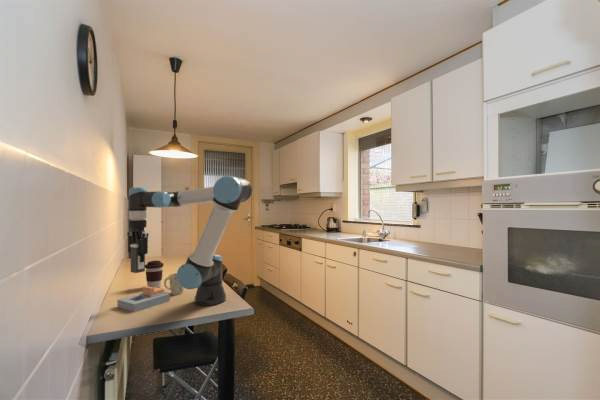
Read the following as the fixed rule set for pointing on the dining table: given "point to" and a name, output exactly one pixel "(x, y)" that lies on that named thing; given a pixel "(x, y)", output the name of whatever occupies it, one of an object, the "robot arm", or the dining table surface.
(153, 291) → the block
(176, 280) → the mug
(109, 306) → the dining table surface
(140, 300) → the socket plate
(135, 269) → the plug
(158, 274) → the coffee cup
